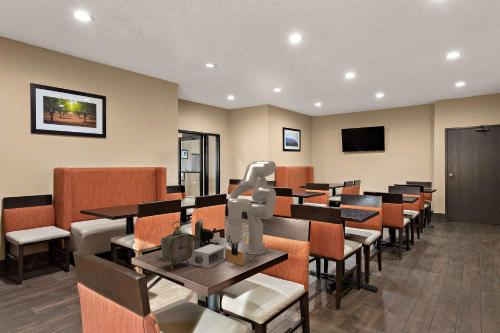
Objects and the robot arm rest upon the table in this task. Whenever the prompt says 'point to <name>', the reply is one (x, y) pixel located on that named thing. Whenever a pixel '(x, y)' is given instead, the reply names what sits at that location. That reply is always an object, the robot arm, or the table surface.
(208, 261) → the camera housing
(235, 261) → the side door
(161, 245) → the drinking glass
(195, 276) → the table surface
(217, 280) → the table surface
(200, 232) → the vintage camera
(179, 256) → the tabletop clock
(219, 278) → the table surface
